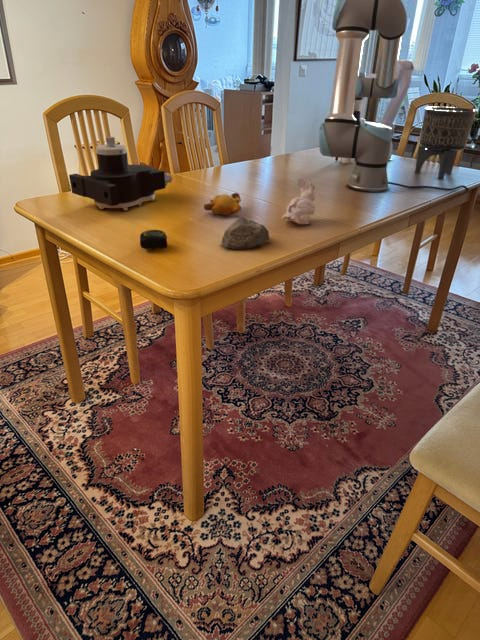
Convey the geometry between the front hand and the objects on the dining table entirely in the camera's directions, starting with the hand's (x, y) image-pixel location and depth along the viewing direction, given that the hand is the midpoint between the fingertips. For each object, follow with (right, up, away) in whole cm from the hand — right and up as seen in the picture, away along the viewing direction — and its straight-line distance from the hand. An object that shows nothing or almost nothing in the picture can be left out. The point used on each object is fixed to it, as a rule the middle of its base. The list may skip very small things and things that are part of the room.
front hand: (346, 160), depth 220 cm
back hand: (+7, +18, +17) cm, 26 cm away
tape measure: (-74, -59, -103) cm, 139 cm away
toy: (-56, -43, -74) cm, 102 cm away
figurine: (-34, -48, -82) cm, 101 cm away
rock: (-50, -57, -99) cm, 124 cm away
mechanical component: (-89, -38, -66) cm, 117 cm away
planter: (+34, -14, -21) cm, 43 cm away
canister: (0, -1, 0) cm, 1 cm away
